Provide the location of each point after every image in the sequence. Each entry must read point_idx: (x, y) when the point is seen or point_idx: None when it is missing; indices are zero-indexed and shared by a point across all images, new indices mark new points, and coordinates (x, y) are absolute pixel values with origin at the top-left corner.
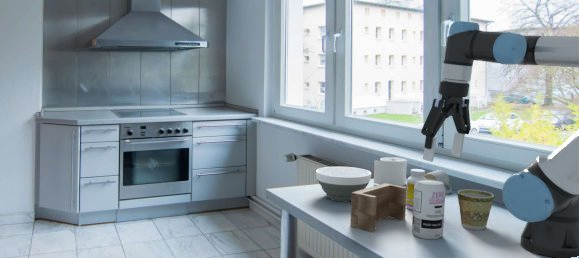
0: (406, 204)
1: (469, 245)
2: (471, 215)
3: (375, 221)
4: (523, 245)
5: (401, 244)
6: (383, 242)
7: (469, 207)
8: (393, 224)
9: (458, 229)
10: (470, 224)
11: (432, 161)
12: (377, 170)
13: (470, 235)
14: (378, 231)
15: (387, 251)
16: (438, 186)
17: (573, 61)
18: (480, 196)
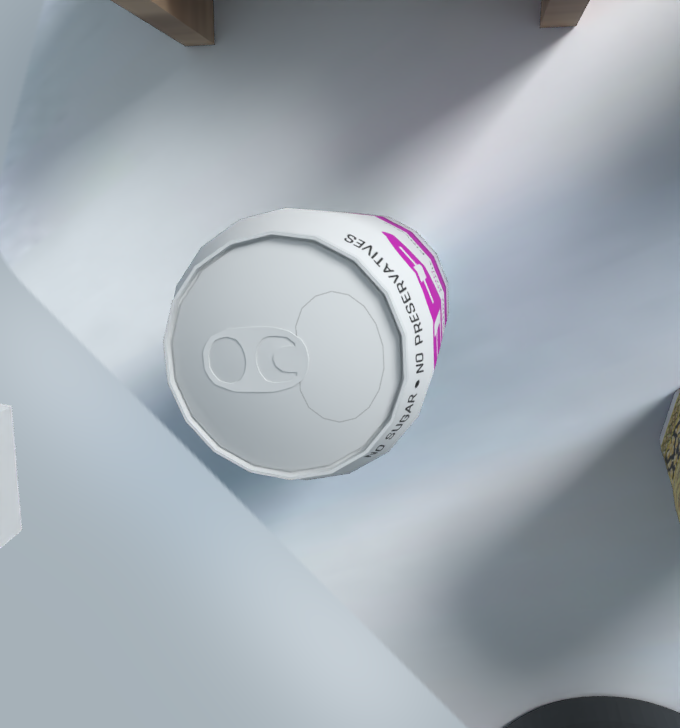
0: None
1: (375, 517)
2: (669, 475)
3: (189, 27)
4: (523, 722)
5: (146, 270)
6: (104, 190)
7: (674, 485)
8: (410, 40)
9: (605, 384)
10: (662, 447)
11: (10, 527)
12: None
13: (539, 472)
14: (225, 61)
15: (26, 272)
16: (241, 459)
17: None
18: None
